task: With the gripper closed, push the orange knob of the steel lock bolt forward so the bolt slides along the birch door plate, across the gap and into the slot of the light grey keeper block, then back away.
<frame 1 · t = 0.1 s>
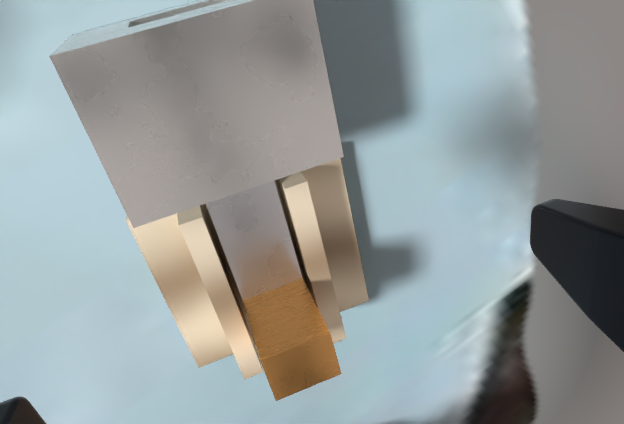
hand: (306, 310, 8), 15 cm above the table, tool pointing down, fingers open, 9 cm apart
door plate: (259, 255, 25), on the table
lock bolt: (271, 280, 21), point 4 cm above the table, slide at 0.0 cm
keeper block: (201, 82, 20), on the table
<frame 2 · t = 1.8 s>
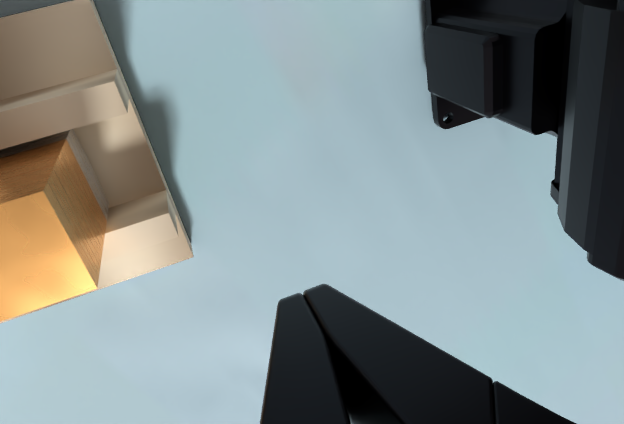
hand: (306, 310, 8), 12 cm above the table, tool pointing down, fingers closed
door plate: (17, 176, 17), on the table
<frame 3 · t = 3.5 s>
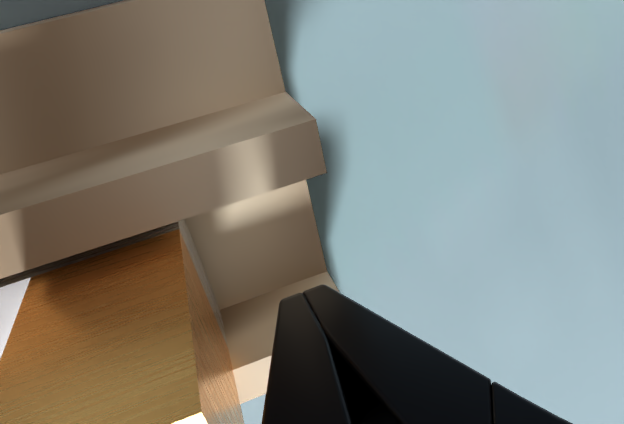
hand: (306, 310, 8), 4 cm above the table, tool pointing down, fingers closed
door plate: (107, 255, 11), on the table
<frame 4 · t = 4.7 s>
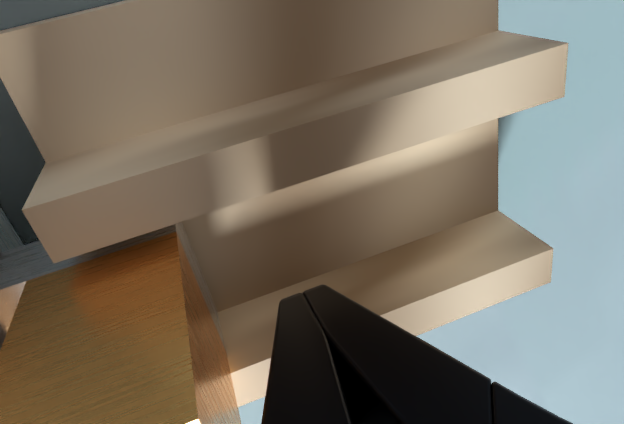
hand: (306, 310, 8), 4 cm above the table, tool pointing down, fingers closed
door plate: (305, 192, 12), on the table
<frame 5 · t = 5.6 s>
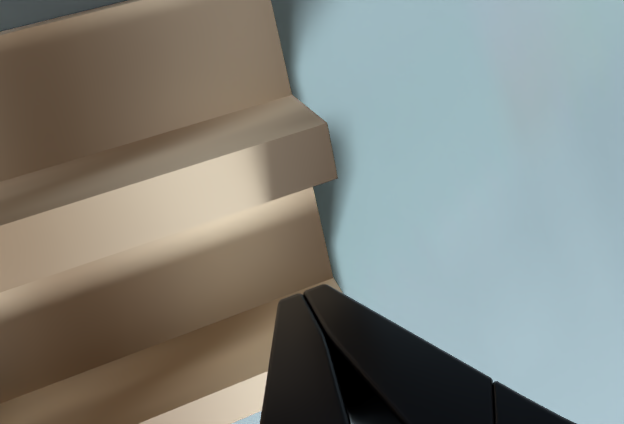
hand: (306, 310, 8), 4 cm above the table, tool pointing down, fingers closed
door plate: (107, 265, 11), on the table
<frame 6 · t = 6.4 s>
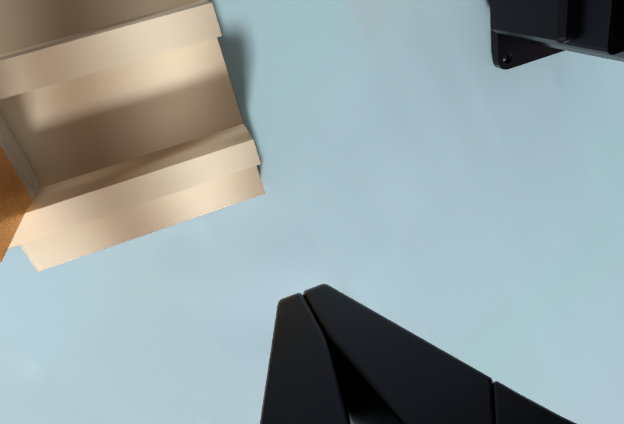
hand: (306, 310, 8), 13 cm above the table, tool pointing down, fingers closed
door plate: (104, 109, 18), on the table
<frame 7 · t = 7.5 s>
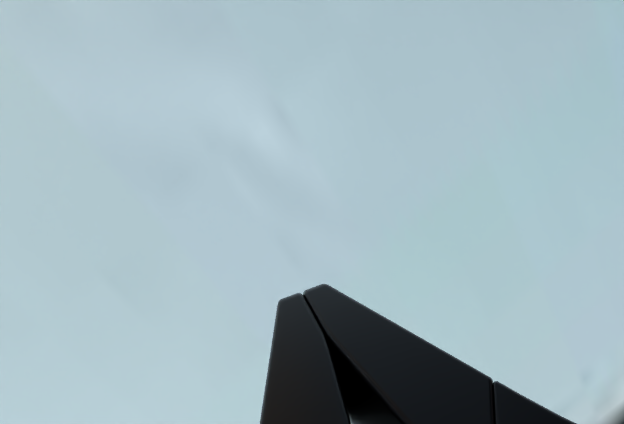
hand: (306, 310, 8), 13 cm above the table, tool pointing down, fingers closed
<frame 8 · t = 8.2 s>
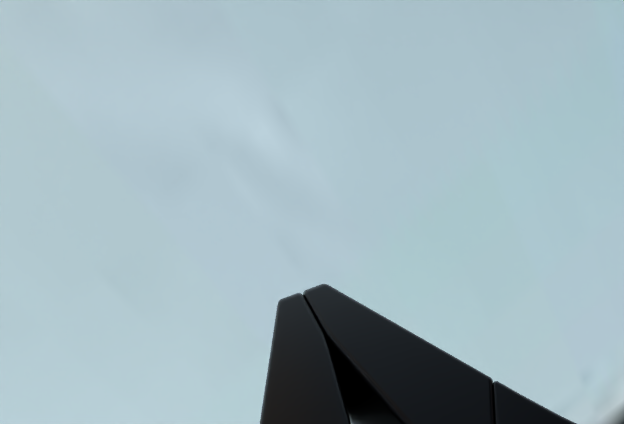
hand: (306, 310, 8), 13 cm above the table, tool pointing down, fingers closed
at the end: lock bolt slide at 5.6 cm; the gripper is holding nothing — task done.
